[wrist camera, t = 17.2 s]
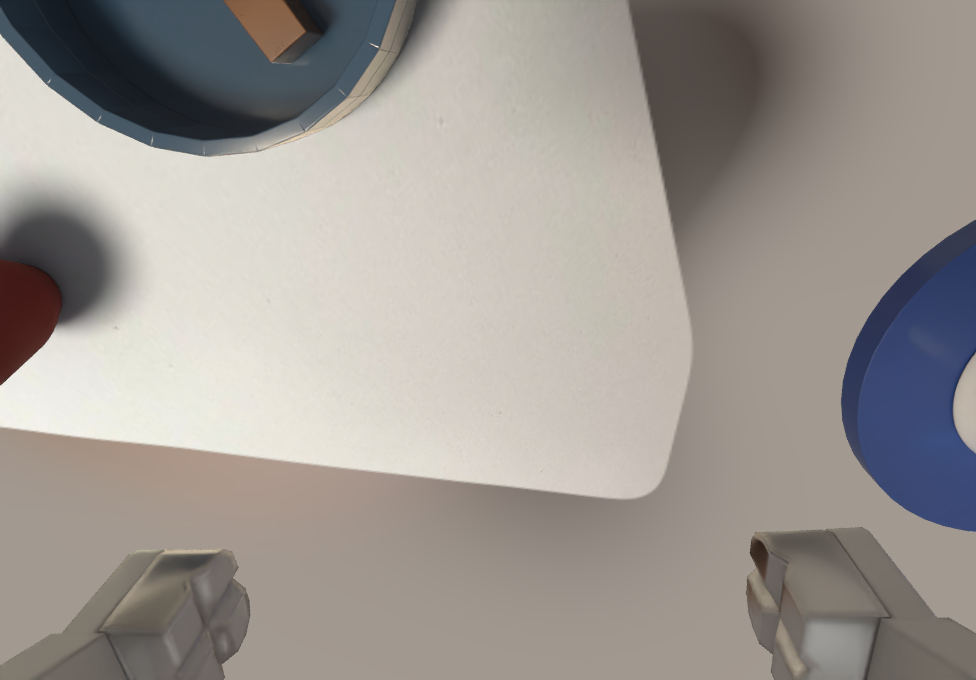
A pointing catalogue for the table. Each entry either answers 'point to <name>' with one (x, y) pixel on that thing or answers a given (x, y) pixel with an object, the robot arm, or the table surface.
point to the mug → (25, 313)
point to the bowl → (204, 67)
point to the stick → (277, 27)
